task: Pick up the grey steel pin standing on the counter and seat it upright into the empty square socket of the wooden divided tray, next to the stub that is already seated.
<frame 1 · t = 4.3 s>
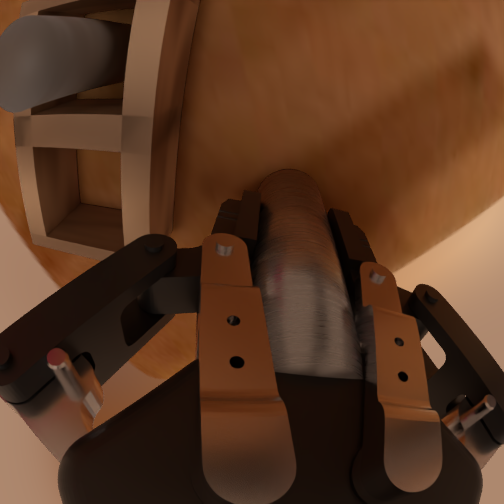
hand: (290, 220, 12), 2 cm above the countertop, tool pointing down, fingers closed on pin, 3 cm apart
wooden divided tray: (112, 113, 12), on the countertop
pin: (288, 198, 14), on the countertop, touching gripper
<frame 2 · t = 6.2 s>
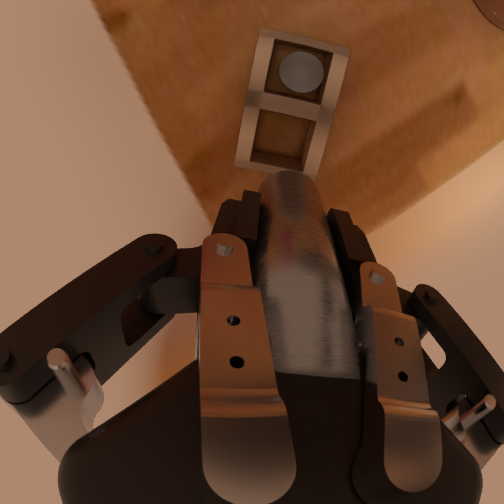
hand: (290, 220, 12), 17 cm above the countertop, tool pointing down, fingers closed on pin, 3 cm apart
wooden divided tray: (288, 101, 24), on the countertop
pin: (288, 199, 14), point 14 cm above the countertop, touching gripper
when the fingers open (4 cm above the countertop, at t = 8.3 s): pin drops 2 cm, resting in wooden divided tray.
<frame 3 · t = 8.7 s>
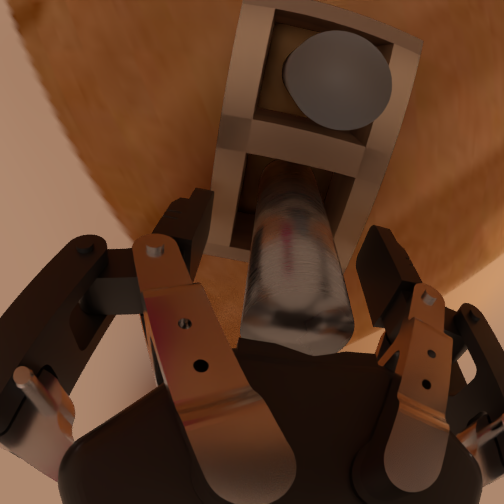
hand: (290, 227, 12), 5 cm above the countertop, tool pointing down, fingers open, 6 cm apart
wooden divided tray: (299, 130, 14), on the countertop
pin: (287, 183, 16), resting in wooden divided tray
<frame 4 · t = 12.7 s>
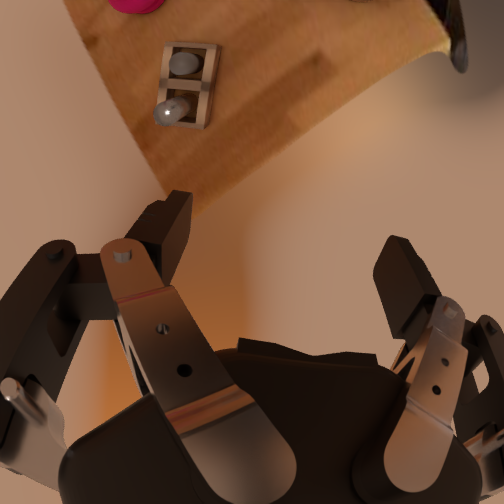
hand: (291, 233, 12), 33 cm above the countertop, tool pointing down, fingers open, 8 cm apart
wooden divided tray: (190, 83, 37), on the countertop
pin: (188, 102, 38), resting in wooden divided tray
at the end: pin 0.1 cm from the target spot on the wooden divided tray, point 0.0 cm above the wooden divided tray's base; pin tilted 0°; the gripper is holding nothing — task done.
